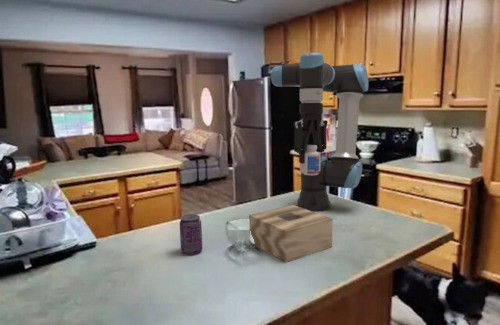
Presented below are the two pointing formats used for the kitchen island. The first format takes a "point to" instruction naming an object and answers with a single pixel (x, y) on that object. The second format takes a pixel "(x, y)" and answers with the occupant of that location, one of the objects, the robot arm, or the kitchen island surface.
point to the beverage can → (190, 234)
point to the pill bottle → (312, 160)
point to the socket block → (291, 232)
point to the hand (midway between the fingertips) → (310, 171)
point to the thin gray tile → (289, 218)
